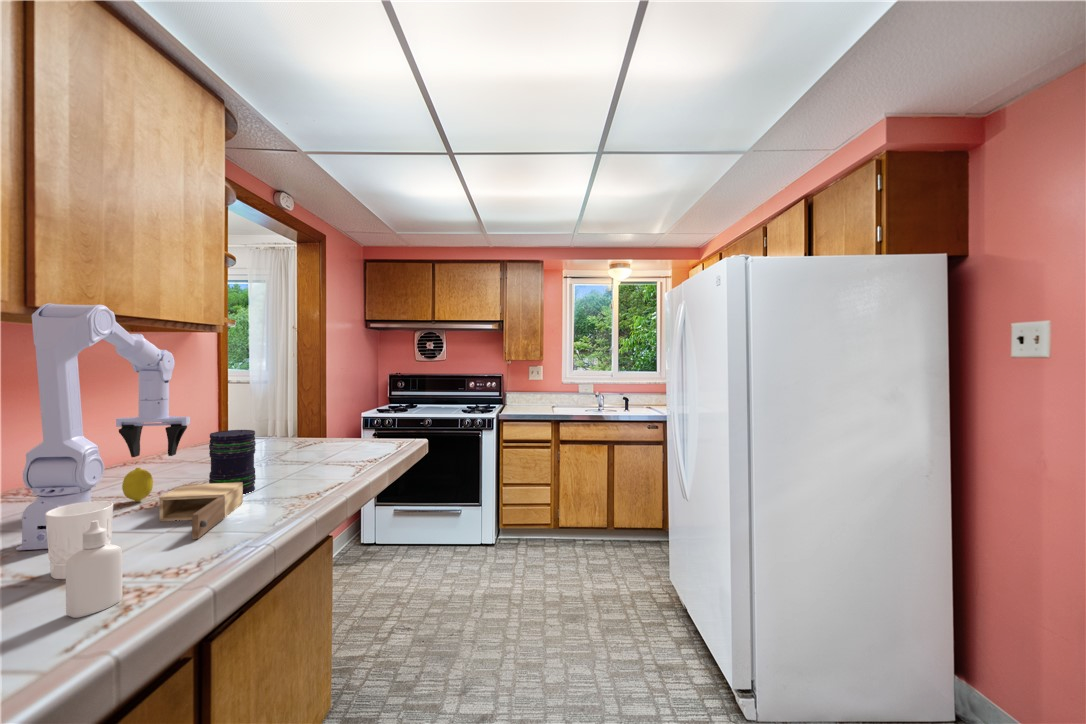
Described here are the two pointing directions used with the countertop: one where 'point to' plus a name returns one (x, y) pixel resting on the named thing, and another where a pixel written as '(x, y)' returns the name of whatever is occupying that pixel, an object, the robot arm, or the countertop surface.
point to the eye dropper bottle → (93, 574)
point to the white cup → (73, 531)
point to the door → (208, 517)
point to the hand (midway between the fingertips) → (153, 455)
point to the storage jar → (233, 458)
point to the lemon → (137, 484)
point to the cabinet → (198, 499)
